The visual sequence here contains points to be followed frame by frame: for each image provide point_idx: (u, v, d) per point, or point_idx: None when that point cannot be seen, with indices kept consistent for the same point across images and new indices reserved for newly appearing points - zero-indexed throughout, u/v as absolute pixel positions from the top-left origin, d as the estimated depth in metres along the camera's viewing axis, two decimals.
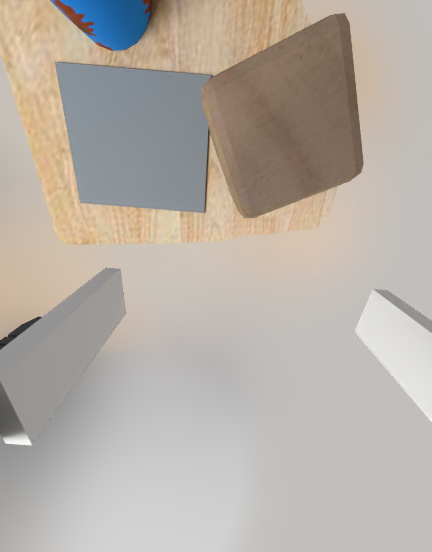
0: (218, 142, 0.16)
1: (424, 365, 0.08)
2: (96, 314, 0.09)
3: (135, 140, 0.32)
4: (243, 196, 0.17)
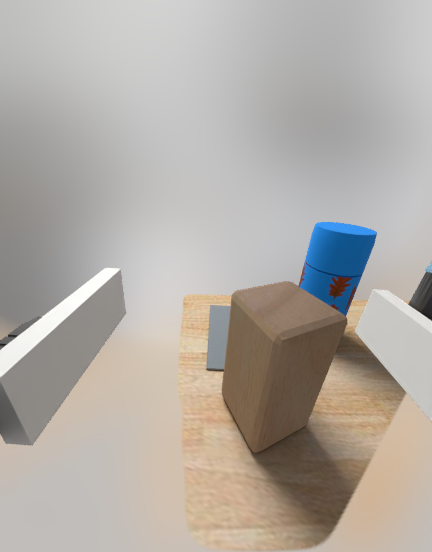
0: (269, 284, 0.30)
1: (424, 365, 0.08)
2: (96, 314, 0.09)
3: None
4: (246, 289, 0.27)
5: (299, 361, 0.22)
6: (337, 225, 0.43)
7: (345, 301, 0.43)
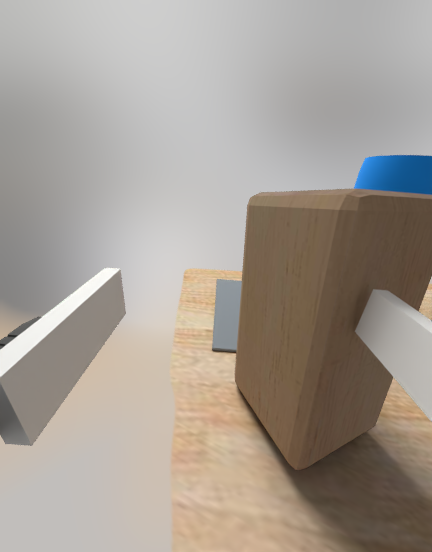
0: None
1: (424, 365, 0.08)
2: (96, 314, 0.09)
3: None
4: None
5: (384, 265, 0.12)
6: None
7: None
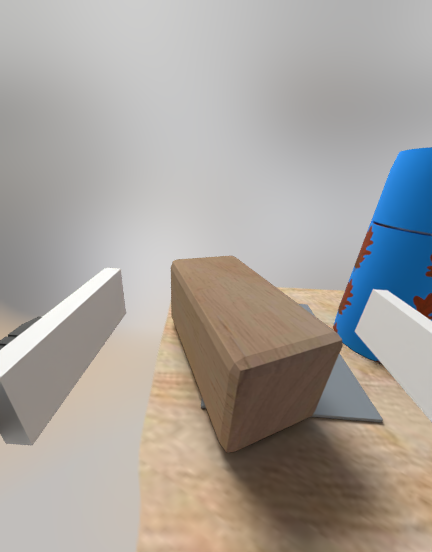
0: None
1: (424, 365, 0.08)
2: (96, 314, 0.09)
3: None
4: None
5: (200, 266, 0.27)
6: None
7: None
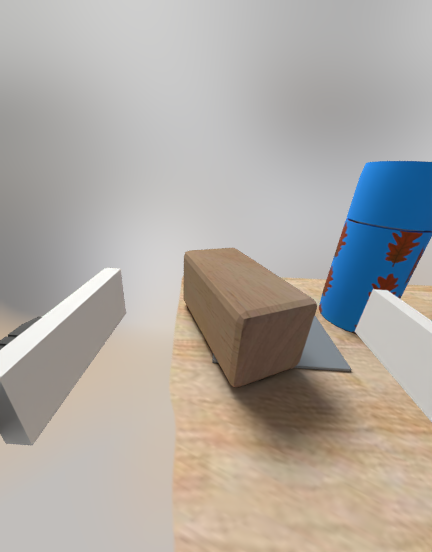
0: None
1: (424, 365, 0.08)
2: (96, 314, 0.09)
3: None
4: None
5: (208, 255, 0.34)
6: None
7: (408, 270, 0.30)
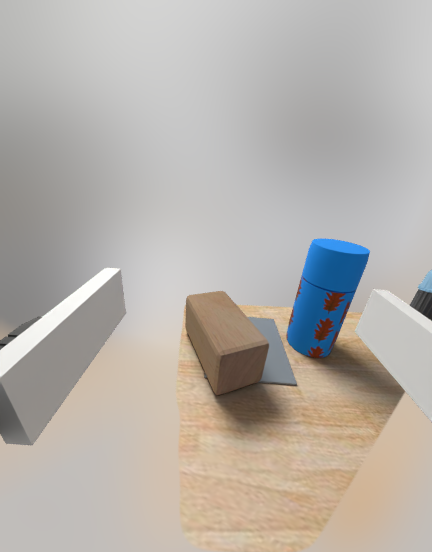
0: None
1: (424, 365, 0.08)
2: (96, 314, 0.09)
3: None
4: None
5: (203, 300, 0.48)
6: (333, 242, 0.45)
7: (339, 315, 0.44)
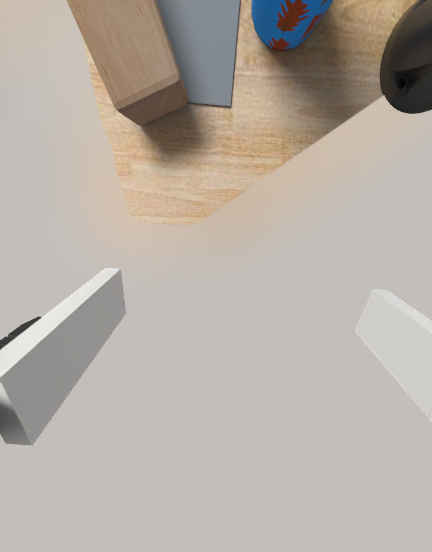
0: None
1: (424, 365, 0.08)
2: (96, 314, 0.09)
3: (183, 11, 0.32)
4: None
5: None
6: None
7: None
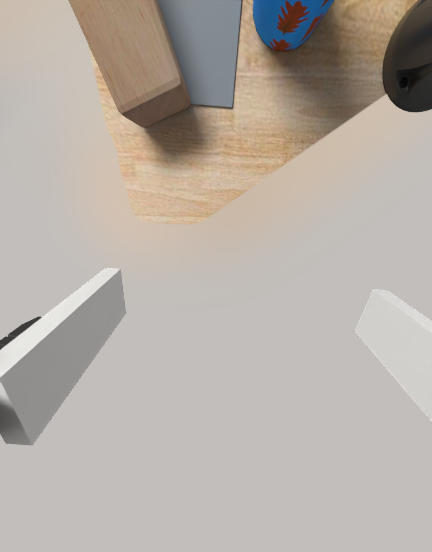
0: None
1: (424, 365, 0.08)
2: (96, 314, 0.09)
3: (185, 14, 0.33)
4: None
5: None
6: None
7: None
